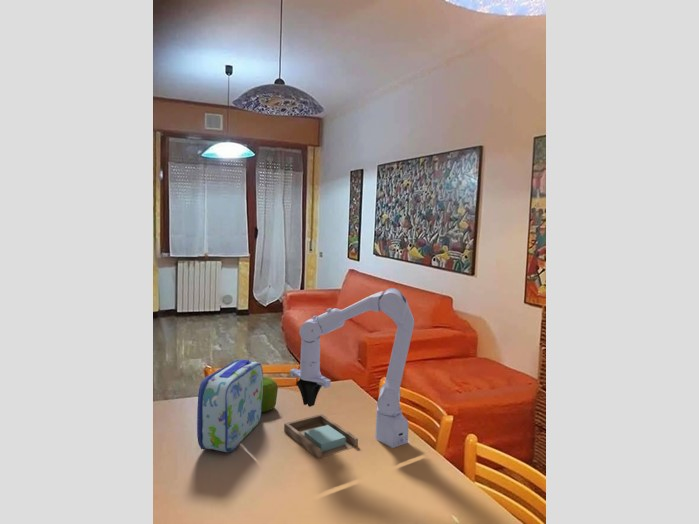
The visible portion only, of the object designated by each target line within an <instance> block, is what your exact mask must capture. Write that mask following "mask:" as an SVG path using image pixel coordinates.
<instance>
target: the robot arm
mask: <svg viewBox="0 0 699 524" xmlns="http://www.w3.org/2000/svg"><path fill="white" fill-rule="evenodd" d="M369 311H371V312H375V313H379V312H380V311H381V312H382V313H383V314H385V315H386V316H388V317H389V318H391V320H392V321H393V322H394V324H395V325H396V327H397V328H396V332H395V337H394V341H393V345H392V350H391V355H390V358H389V363H388V367H387V372H386V376H385V380H384V383H383V385H382V386H381V387H380V390H379V395H378V399H377V402H376V405H377V407H376V413H375V414H376V415H375V431H374V432H375V433H374V434H375V436H374V438H375V440H376V441H378V442H380V443H383V444H385V445H386V446H388V447H389V448H391V449H394V448H397V447H400V446H402V445H406V444H409V445H410V444H411V442H410V441H409V427H410V425H409V420H408V419H407V418H406V417H405V416H404V415H403V412H402V407H401V406H400V405H401V403H400V399H401V394H402V393H401V392H402V391H401V385H402V379H403V376H404V371H405V367H406V363H407V357H408V353H409V349H410V345H411V340H412V336H413V331H414V327H415V319H414V316H413V313H412V310H411V308H410V305H409V302H408V300H407V297H405V295H404V294H403V292H402V291H401V290H399V289H397V288H394V287H390V288H387V289H386V290H384V291H383V290H381V291H377V292H376V293H374V294H371V295H368V296H366V297H365V298H363V299H360V300H359V301H357V302H355V303H353V304H351V305H349V306H347V307H345V308H342V309H340V308H336V307H335V308H333V309H332V307H329V308H327V309H326V312H324V313H321V314H320V315H313V316H312V317H311V318H309V319H306V320H305V321H304V322H303V324H301V326H300V328H299V330H298V332H299V336H300V339H301V341H300V342H301V343H300V344H301V345H300V367H299V368H300V369H298V368H292V369H290V372H289V376H290V377H295V378H298V379H299V380H298V381H296V386H297V387H298V389H299V392H300V395H301V399H302V403H303V405H304V406H308V407H309V408H310V407H311V408H312V407H314V406H315V403H316V400H317V397H318V395H319V392H320V391H321V388H322V387H323V388H324V389H326V388H329V387H331V382H332V380H331V379H329V378H327V377H326V376H323V375H322V373H321V370H320V369H321V365H320V364H321V335H322V336H323V335H327V334H329V333H331V332H333V331H335V330H338V329H340V328H342V327H344V326H345V324H346V320H349V319H352V318H355V317H356V316H359V315H361V314H363V313H366V312H369Z"/></svg>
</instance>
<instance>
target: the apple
mask: <svg viewBox="0 0 699 524" xmlns="http://www.w3.org/2000/svg"><path fill="white" fill-rule="evenodd" d="M278 390H279V388H278V382H276V381H275V380H273V379H272V378H270V377H268V376H263V395H262V409H261V413H266V412H268V411H270V410H272V409H274V408H275V407H276V404H277V397H278Z"/></svg>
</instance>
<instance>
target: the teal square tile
mask: <svg viewBox="0 0 699 524" xmlns="http://www.w3.org/2000/svg"><path fill="white" fill-rule="evenodd" d="M304 436H305V437H306V438H307V439H309V440H310V441H311V442H313V443H314V444H315V445H316V446H318V447H319V448H320V449H322V452H323V451H326V450H330V449H333V448H336V447H339V446H342V445H345V440H346V437H345V436H343V435H342V434H340V433H339V432H338V431H336V430H335V429H333V428H332V427H330V426H329V425H326V426H322V427H319V428H315V429H311V430H308V431H305V434H304Z"/></svg>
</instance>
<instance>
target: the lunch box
mask: <svg viewBox="0 0 699 524" xmlns="http://www.w3.org/2000/svg"><path fill="white" fill-rule="evenodd" d="M263 377H264V371H263V365H262V364H261V362H258V361H251V360H249V359H240V360H239V359H236V360H233V361H232V362H230V363H229V364H227V365H225V366H223V367H221V368H219V369H218V370H216V371H214V372H213V373H211V374H209V375H207V376H206V377H204V378H203V379H202V380H201V382H200V385H199V388H198V394H197V409H196V410H197V414H196V415H197V416H196V418H197V419H196V428H197V429H196V433H197V435H196V436H197V442H198V446H199V448H200V449H201V450H205V449H207V450H215V451H218V452H224V453H230V452H233V451H235V450H236V449H237V447H238V446H239V445H240V444H241V443H242V441H243V440H244V439H245V438H246V437H247V436H248V435H249V434H250V433H251V432H252V431H253V430H254V429H255V428H256V427H257V426H258V424H259V422H260V420H261V417H262V412H261V409H262V395H263Z"/></svg>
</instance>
